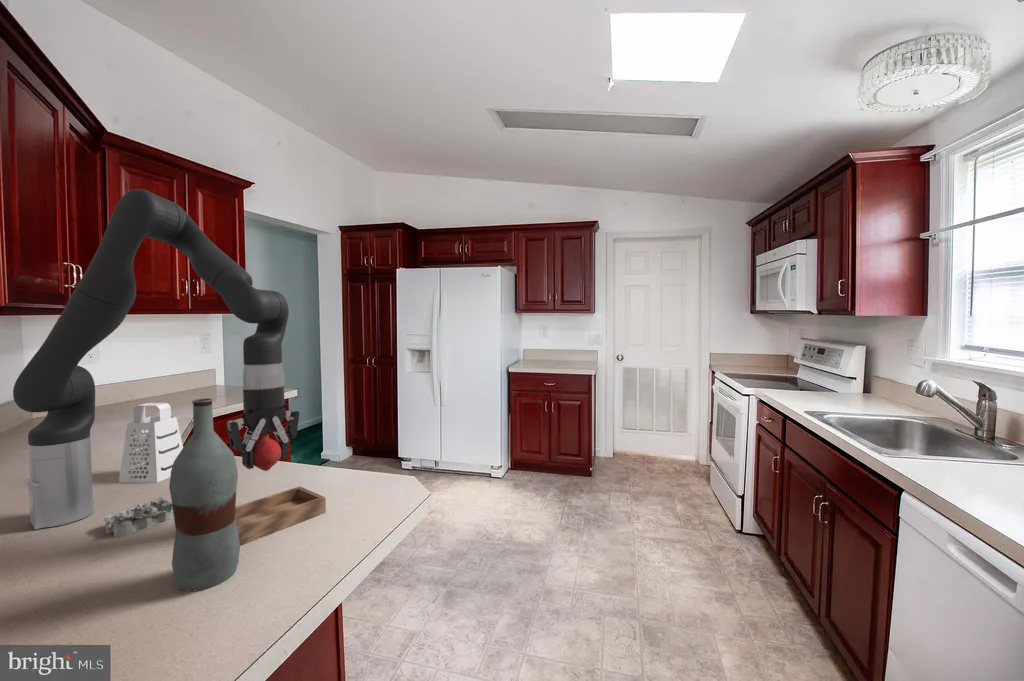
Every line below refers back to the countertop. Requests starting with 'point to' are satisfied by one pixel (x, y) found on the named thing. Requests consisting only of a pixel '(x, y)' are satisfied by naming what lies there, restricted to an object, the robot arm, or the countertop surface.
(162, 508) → the egg carton
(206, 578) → the bottle
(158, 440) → the grater
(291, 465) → the countertop surface
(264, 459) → the onion
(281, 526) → the wooden tray
